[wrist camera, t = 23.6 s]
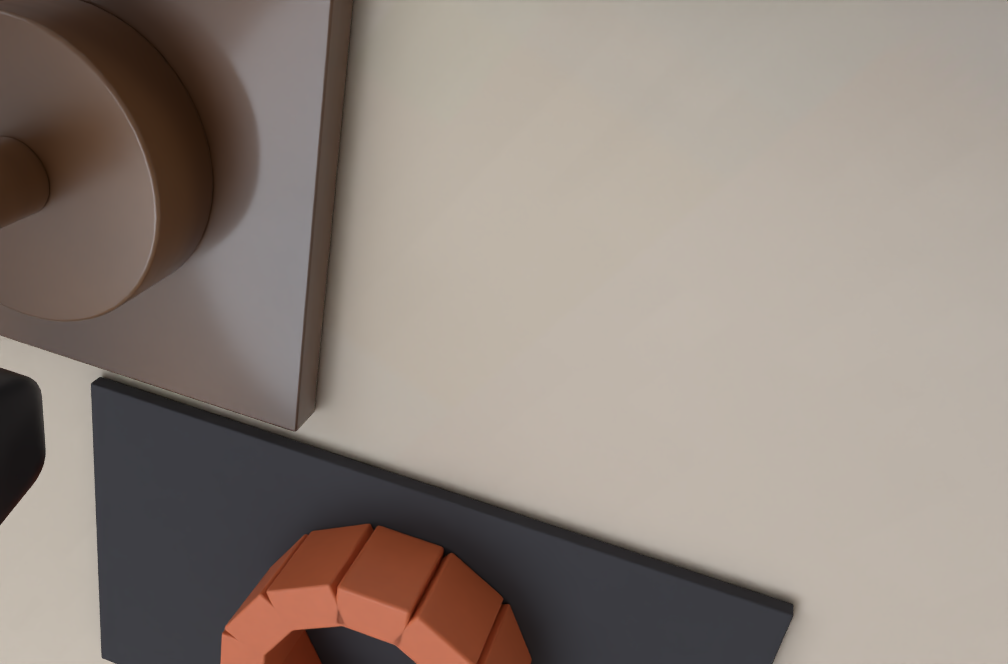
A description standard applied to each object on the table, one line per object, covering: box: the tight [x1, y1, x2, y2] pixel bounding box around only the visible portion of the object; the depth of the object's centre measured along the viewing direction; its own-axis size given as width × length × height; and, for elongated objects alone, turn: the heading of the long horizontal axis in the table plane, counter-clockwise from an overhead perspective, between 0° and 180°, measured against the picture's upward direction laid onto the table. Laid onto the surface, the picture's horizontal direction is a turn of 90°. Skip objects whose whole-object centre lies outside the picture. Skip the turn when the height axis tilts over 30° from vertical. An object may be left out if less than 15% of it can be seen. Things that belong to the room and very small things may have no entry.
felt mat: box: [91, 377, 793, 664], centre depth 25 cm, size 18×10×1 cm, turn 80°
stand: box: [0, 0, 353, 431], centre depth 19 cm, size 11×11×6 cm
